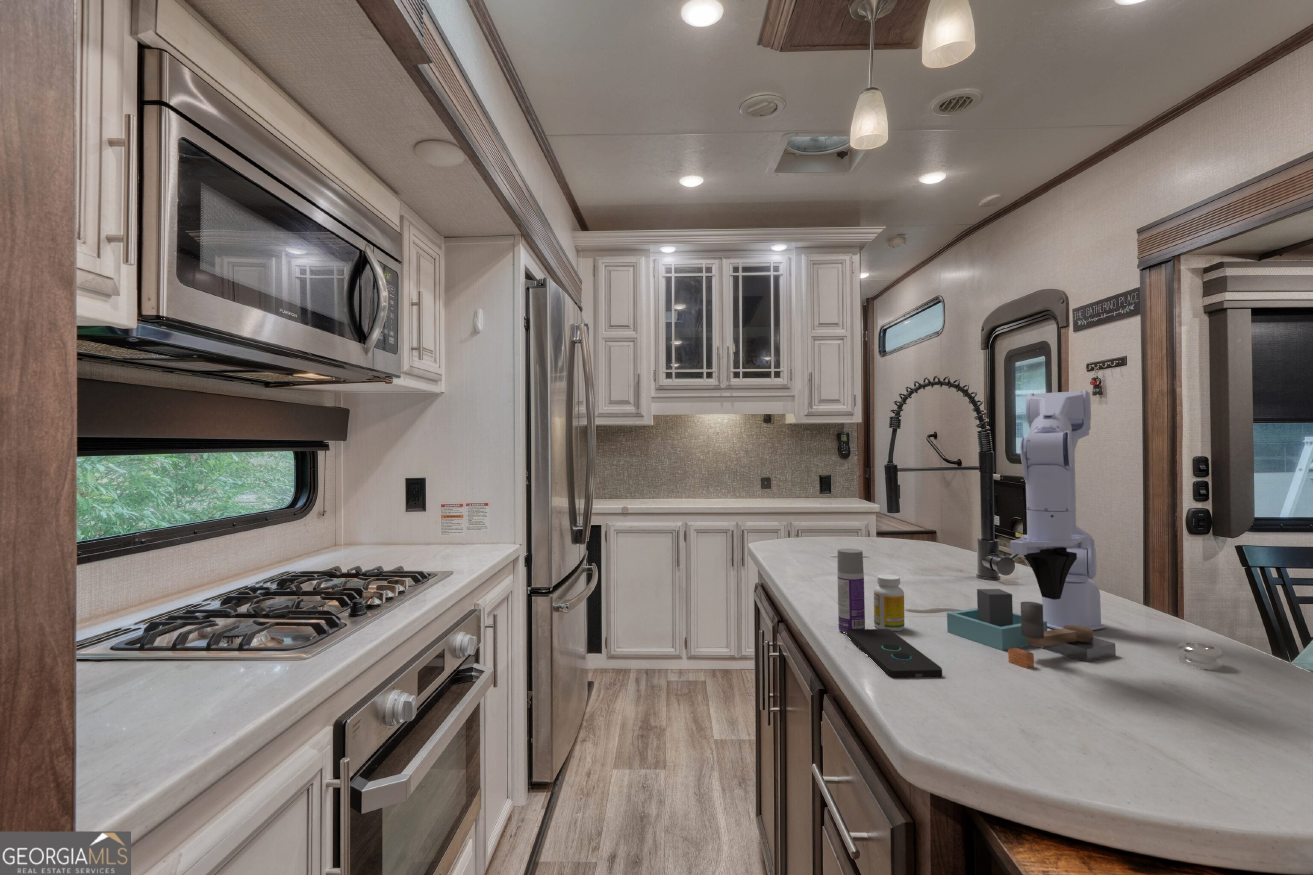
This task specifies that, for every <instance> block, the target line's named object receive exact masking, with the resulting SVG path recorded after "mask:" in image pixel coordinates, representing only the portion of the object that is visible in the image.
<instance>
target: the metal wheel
mask: <svg viewBox="0 0 1313 875" xmlns="http://www.w3.org/2000/svg"><path fill="white" fill-rule="evenodd" d="M1177 648H1178V651H1179V652H1181V653H1180V654H1178V662H1179V661H1180V662H1181V663H1183V664H1186V665H1188V666H1187V667H1189V666H1193V667H1196V668H1200V669H1199V670H1202V669H1208V670H1207V671H1209V670H1221V671H1223V670H1224V662H1223V661H1222V660H1220V659H1221V658H1223V657H1224V652H1223V651H1222V649H1221V648H1219V647H1218V646H1215V645H1212V644H1208V643H1203V642H1196V641H1183V642H1180V643H1179V644H1178V647H1177ZM1180 662H1179V663H1180ZM1181 663H1180V664H1181ZM1183 664H1182V665H1183ZM1186 665H1185V666H1186ZM1196 668H1195V669H1196ZM1222 669H1223V670H1222Z"/></svg>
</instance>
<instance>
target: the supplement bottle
mask: <svg viewBox="0 0 1313 875" xmlns="http://www.w3.org/2000/svg"><path fill="white" fill-rule="evenodd" d="M876 579H877V585H876V586H875V587H874V589H873V622H874V623H873V624H874V626H875V627H876V629H890V630H891V631H893V632H901V631H902V630H904V628H905V592H904V590H903V588H901V587H900V584H901V577H900V576H898V575H894V574H879V575H877V578H876Z"/></svg>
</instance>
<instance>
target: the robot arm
mask: <svg viewBox="0 0 1313 875" xmlns="http://www.w3.org/2000/svg"><path fill="white" fill-rule="evenodd" d="M1091 403H1092V402H1091V392H1089V391H1088V390H1087V389H1082V390H1077V391H1076V390H1073V391H1061V392H1060V391H1059V392H1057V391H1056V392H1044V393H1043V392H1040V393H1034V392H1030V393H1029V394H1028V395H1027V396H1026V398H1025V415H1026V422H1027V424H1028V427H1029V432H1028V433H1027V436H1022V437H1021V439H1020V448H1019V449H1020V450H1019V451H1020V453H1019V454H1020V460H1021V464H1022V465H1021V466H1022V471H1023V480H1025V499H1026V502H1025V503H1026V534H1023V535H1021V537H1020V538H1018V539H1014V540H1010V543H1009V544H1010V545H1009V546H1010V554H1014V555H1021V556H1023V557H1024V558H1025V560H1026V561H1027V563H1028V565H1030V568H1031V570H1032V572H1033V574H1034V576H1035V579H1036V583H1037V585H1038V588H1039V592H1040V594H1041V604H1042V605H1043V620H1044V621H1047V628H1051V629H1052V630H1055V629H1062V628H1063V626H1065V625H1077V626H1083V627H1087V628H1090V629H1092V630H1093V631H1095V630H1102V629H1106V628H1107V625H1106V624H1105V623H1102V609H1101V607H1102V606H1101V593H1100V589H1099V587H1098V585H1097V584H1096V583H1095V582H1094V581H1093V580H1094V579H1095V578H1096V577H1097V551H1096V545H1095V543H1096V542H1095V539H1094V538H1093V536H1092V535H1091V534H1089V533H1088V532H1087V531H1086V530H1084V529H1083V528H1080V527H1079V526H1078V525H1077V504H1076V503H1077V499H1076V498H1077V496H1076V493H1077V492H1076V460H1075V459H1076V458H1075V457H1076V456H1075V454H1076V453H1075V451H1076V448H1077V444H1078V442H1079V440H1080V439H1083V438H1085V437H1087V436H1089V435H1090V431H1091V429H1092V426H1091V423H1092V422H1091V421H1092V411H1091V410H1092V409H1091V408H1092V407H1091V406H1092V405H1091Z"/></svg>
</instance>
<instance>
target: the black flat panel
mask: <svg viewBox="0 0 1313 875" xmlns="http://www.w3.org/2000/svg"><path fill="white" fill-rule="evenodd" d="M846 635H847V636H848V637H849V638H850V639H851V640H850V639H849V638H848V637H847V636H846V637H847V638H848V639H849V640H850V641H851V642H852V643H853V642H854V643H853V644H854V646H856V647H857V648H858V649H859V650H860V651H861V652H862V651H863V652H864V653H865V654H867V655H868V656H867V658H869V657H870V658H871V659H872V660H873V661H874V662H875V663H876V664H877V665H878V666H879V667H880V668H881V669H882V670H883V671H884V672H885V673H884V672H883V671H882V670H881V669H880V668H879V667H878V666H877V665H876V664H875V663H874V662H873V661H872V660H871V659H870V658H869V659H870V660H871V661H872V662H873V663H874V664H875V665H876V666H877V667H878V668H879V669H880V670H881V671H882V672H883V673H884V674H885V675H886V676H888V677H889V678H890V679H891V678H892V679H920V678H921V679H922V678H925V679H927V678H928V679H929V678H943V668H942V667H941V665H939V664H937V663H936V662H935V661H933V660H932V659H931V658H929V657H928V656H927V655H925V653H923V652H921V651H919V649H917V648H916V647H915V646H913V645H912V644H911V643H909V642H908V641H906V640H905V639H903V638H902V637H901V636H900V635H899V634H897V633H896V632H895V631H891V630H890V629H879V628H870V629H869V628H865V629H855V630H847V634H846ZM863 652H862V653H863ZM864 653H863V654H864ZM865 654H864V655H865Z"/></svg>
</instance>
